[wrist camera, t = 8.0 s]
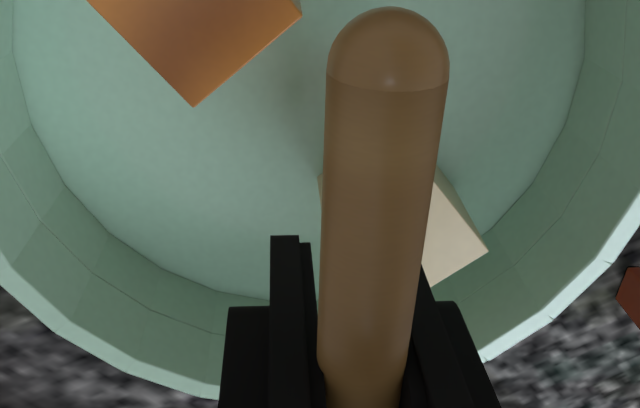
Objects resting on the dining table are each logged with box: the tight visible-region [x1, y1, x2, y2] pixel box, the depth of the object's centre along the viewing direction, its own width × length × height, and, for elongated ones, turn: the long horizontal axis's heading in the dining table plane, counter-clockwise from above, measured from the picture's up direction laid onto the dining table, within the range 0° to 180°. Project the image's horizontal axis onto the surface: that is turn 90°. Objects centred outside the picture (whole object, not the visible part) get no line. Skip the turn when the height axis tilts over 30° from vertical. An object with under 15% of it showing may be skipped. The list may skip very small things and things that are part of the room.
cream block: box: [317, 165, 489, 287], centre depth 20 cm, size 4×4×4 cm
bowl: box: [0, 0, 640, 400], centre depth 18 cm, size 22×22×6 cm
